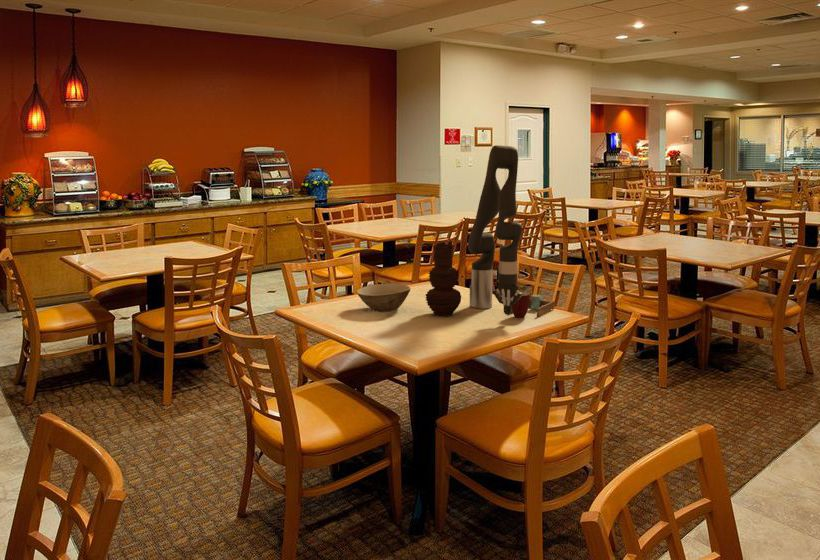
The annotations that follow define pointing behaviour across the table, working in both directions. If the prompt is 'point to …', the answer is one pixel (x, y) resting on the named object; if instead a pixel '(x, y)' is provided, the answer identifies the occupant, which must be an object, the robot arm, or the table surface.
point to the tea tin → (536, 301)
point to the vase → (443, 282)
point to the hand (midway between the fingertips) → (507, 314)
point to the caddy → (543, 307)
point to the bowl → (384, 296)
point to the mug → (521, 305)
